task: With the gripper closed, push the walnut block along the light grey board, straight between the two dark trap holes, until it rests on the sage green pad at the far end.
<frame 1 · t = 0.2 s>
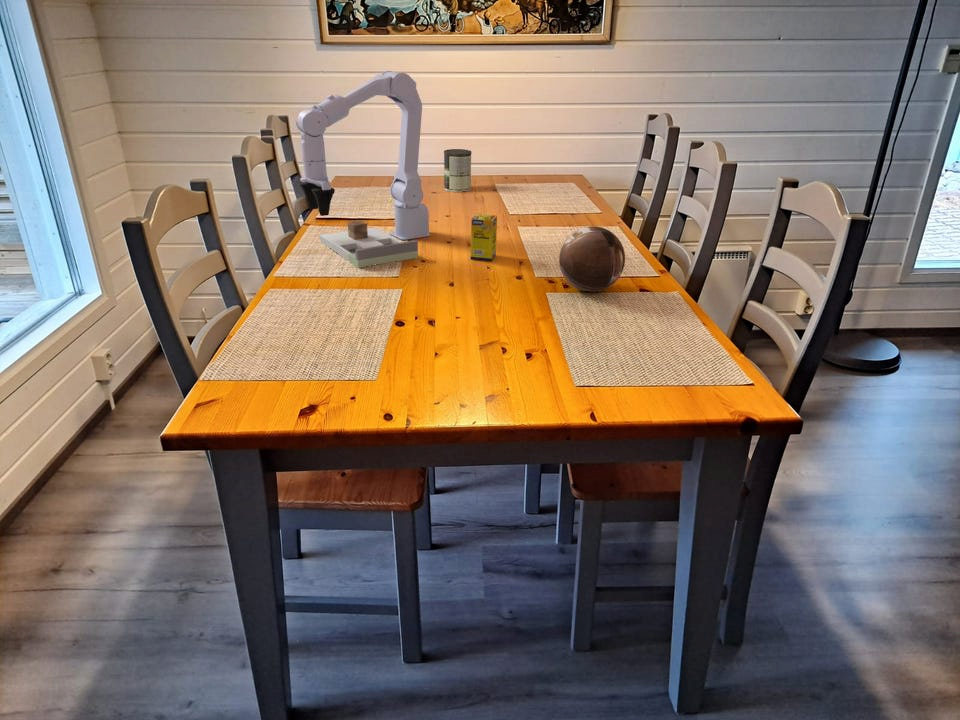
hand: (319, 212, 176), 10 cm above the table, tool pointing down, fingers open, 7 cm apart
coffee can: (457, 190, 250), on the table
supplement box: (483, 258, 175), on the table
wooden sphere: (588, 290, 155), on the table
walnut block: (358, 237, 182), point 2 cm above the table, touching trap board
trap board: (367, 249, 179), on the table
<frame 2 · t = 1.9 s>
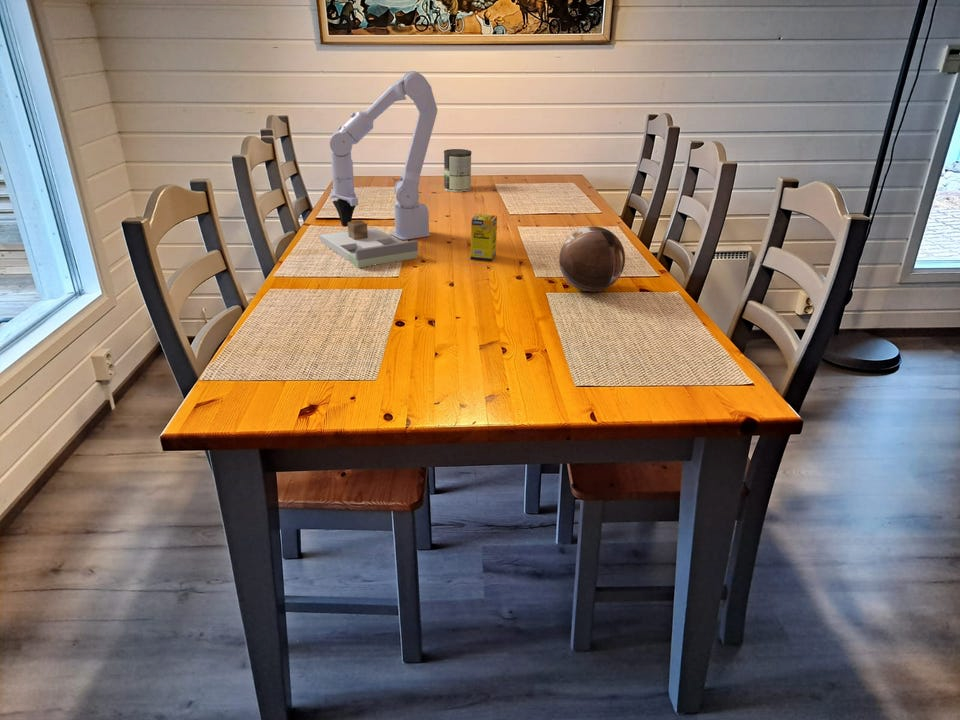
hand: (346, 225, 188), 3 cm above the table, tool pointing down, fingers closed
nothing on the table moved.
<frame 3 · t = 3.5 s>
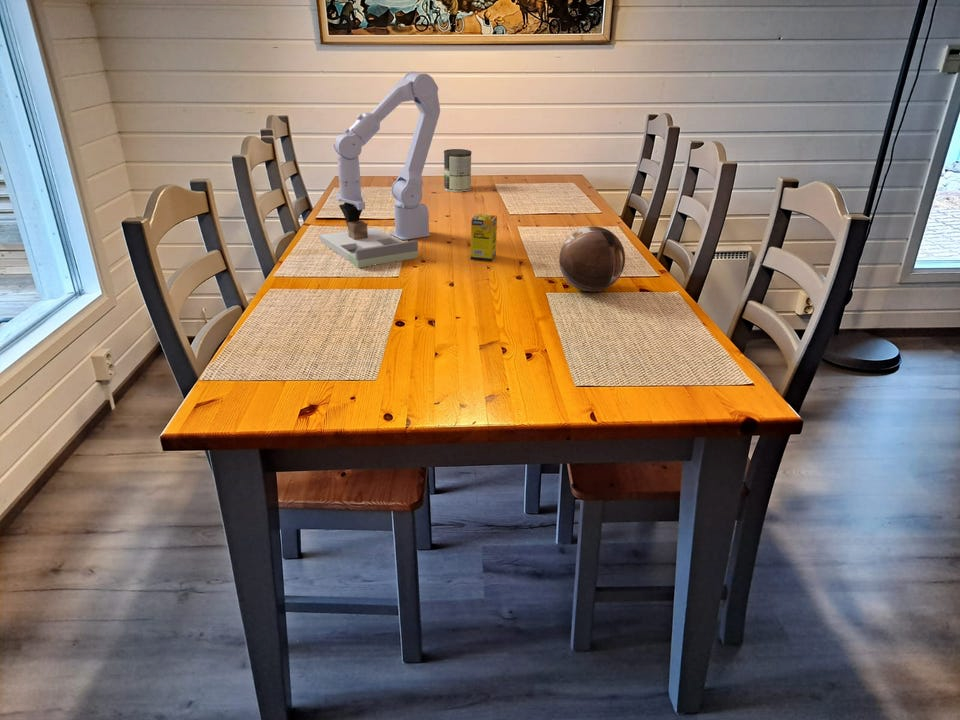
hand: (352, 229, 184), 3 cm above the table, tool pointing down, fingers closed
walnut block: (358, 237, 182), point 2 cm above the table, touching gripper, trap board
everything else where it was.
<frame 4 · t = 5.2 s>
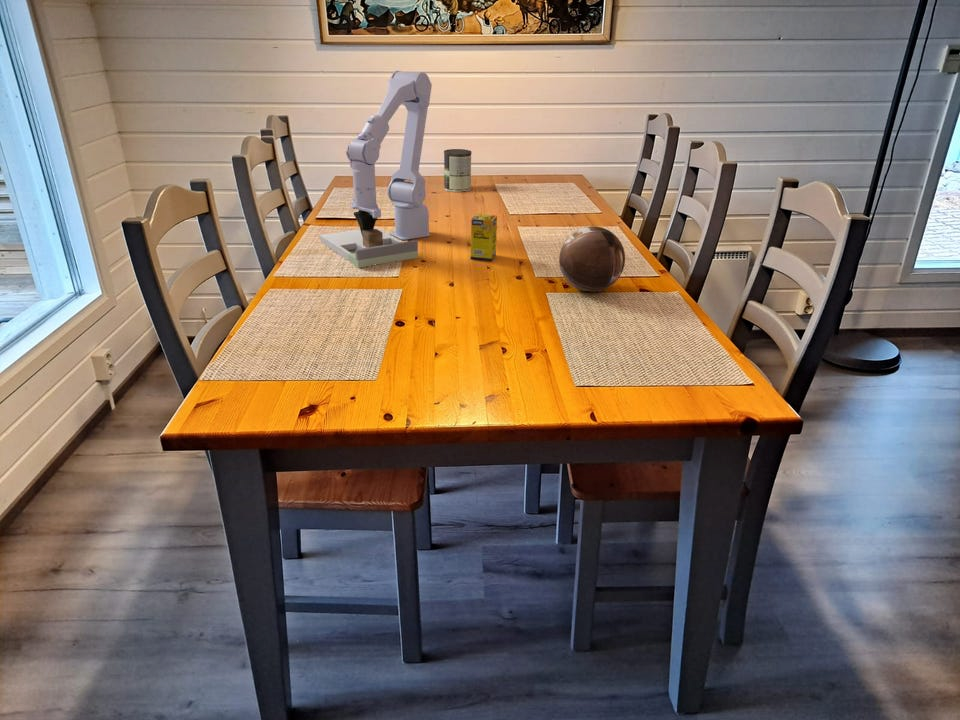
hand: (367, 238, 177), 3 cm above the table, tool pointing down, fingers closed
walnut block: (372, 246, 175), point 2 cm above the table, touching gripper, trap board
everything else where it was.
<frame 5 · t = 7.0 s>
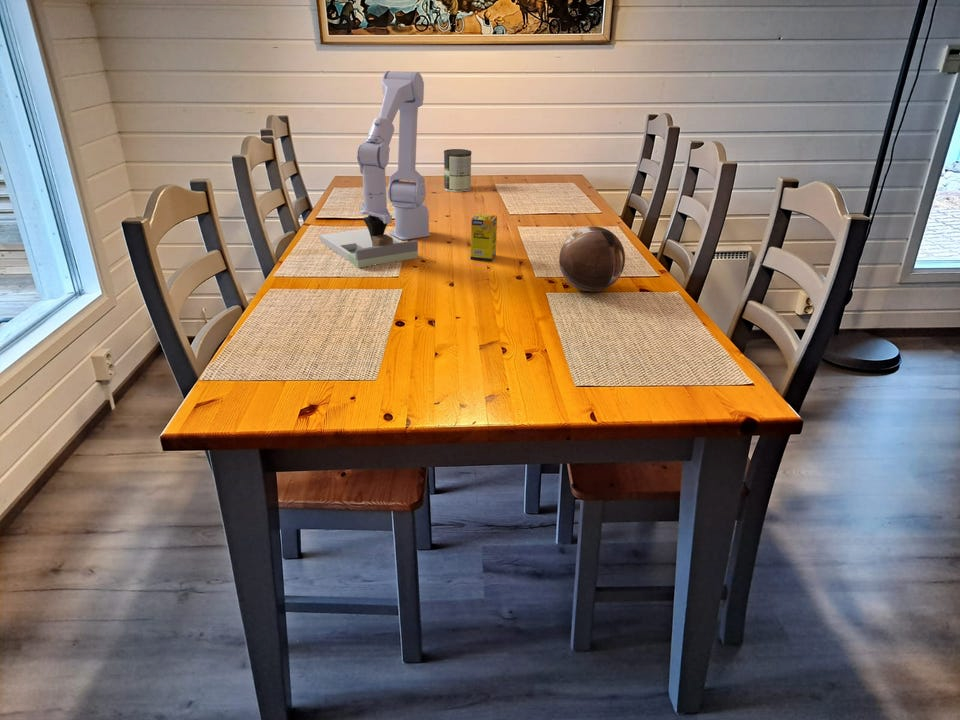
hand: (377, 244, 173), 3 cm above the table, tool pointing down, fingers closed
walnut block: (382, 252, 171), point 2 cm above the table, touching gripper, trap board
everything else where it was.
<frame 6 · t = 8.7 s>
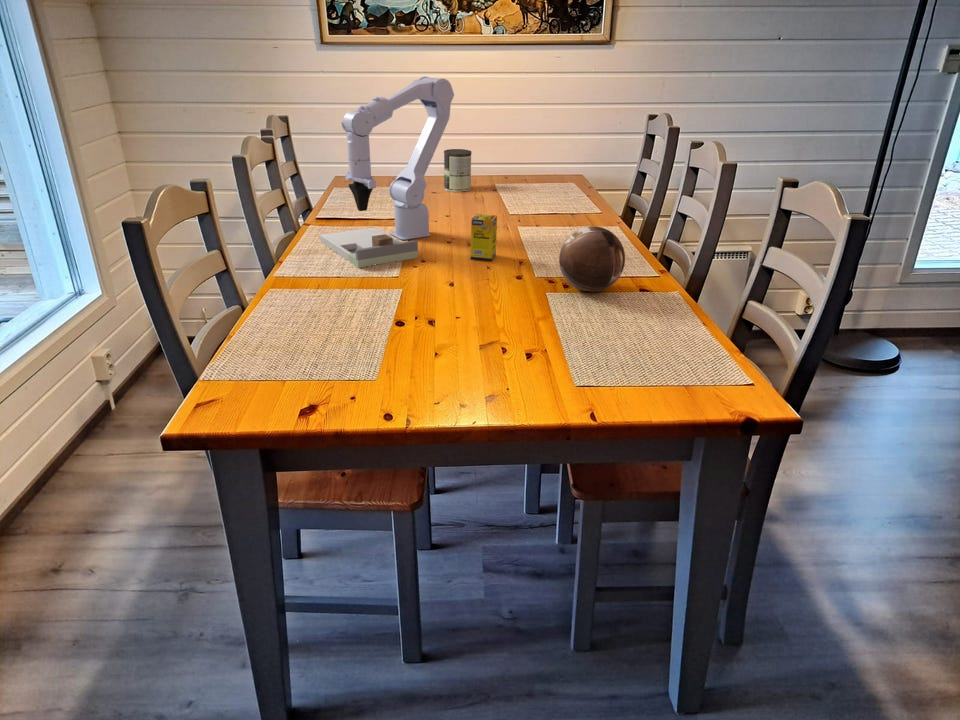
hand: (362, 210, 180), 9 cm above the table, tool pointing down, fingers closed
walnut block: (382, 252, 171), point 2 cm above the table, touching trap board
everything else where it was.
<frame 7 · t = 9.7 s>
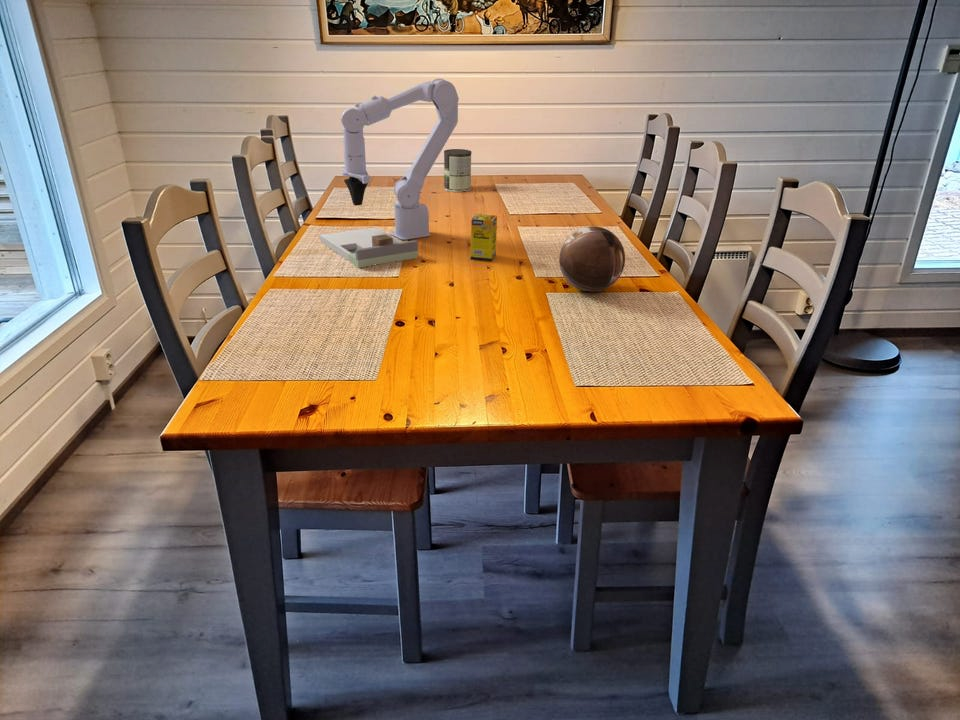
hand: (357, 204, 185), 9 cm above the table, tool pointing down, fingers closed
nothing on the table moved.
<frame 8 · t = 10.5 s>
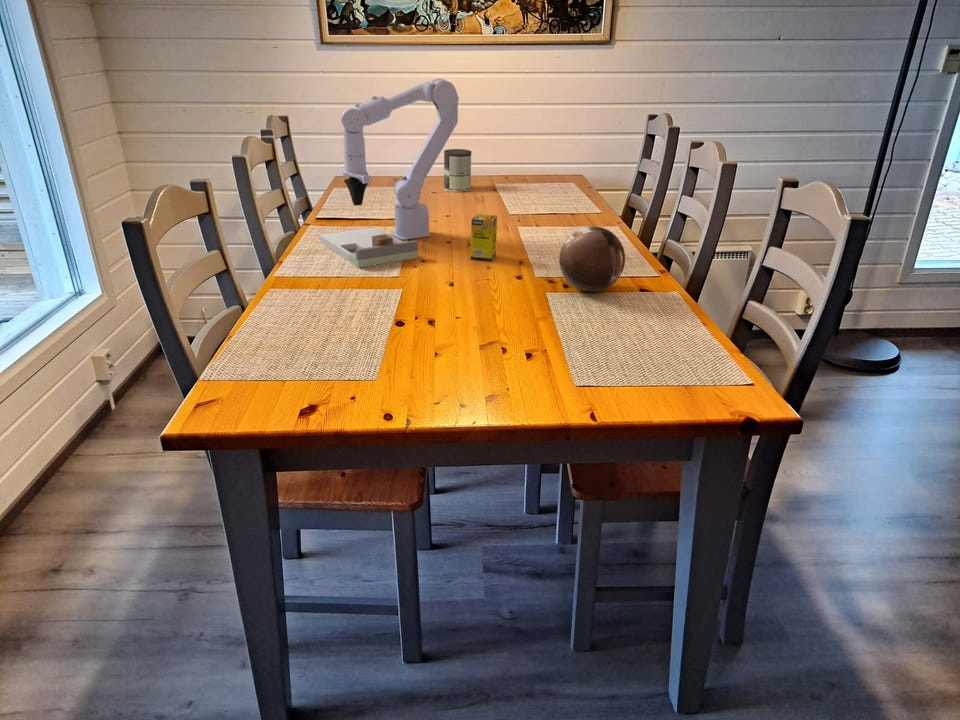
hand: (357, 204, 185), 9 cm above the table, tool pointing down, fingers closed
nothing on the table moved.
at the end: walnut block 0.2 cm from the target spot on the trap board, point 2.0 cm above the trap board's base; walnut block tilted 0°; walnut block moved 15.8 cm from its start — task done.
